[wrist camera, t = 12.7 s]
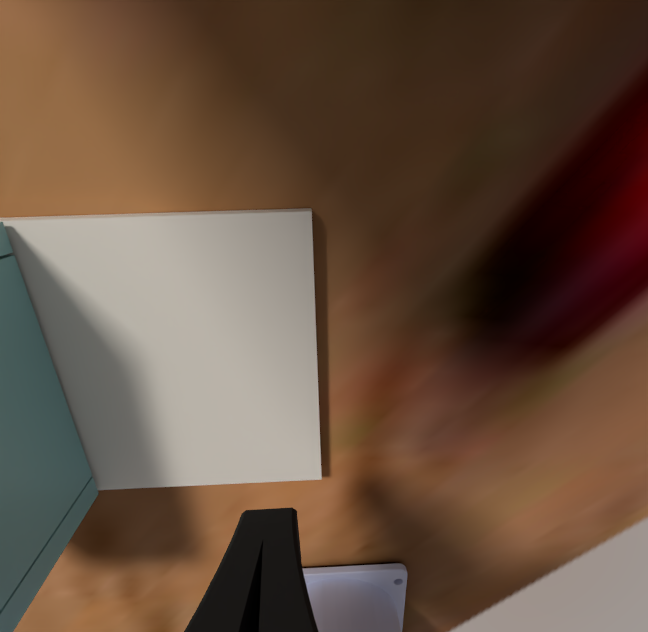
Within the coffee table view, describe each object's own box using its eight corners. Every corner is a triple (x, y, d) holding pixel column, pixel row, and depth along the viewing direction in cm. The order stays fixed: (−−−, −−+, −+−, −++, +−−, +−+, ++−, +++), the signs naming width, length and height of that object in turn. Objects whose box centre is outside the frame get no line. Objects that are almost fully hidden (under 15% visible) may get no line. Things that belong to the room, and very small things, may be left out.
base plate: (321, 466, 18) (324, 545, 14) (-64, 484, 18) (-162, 570, 14) (311, 208, 13) (312, 228, 10) (-213, 224, 13) (-419, 251, 9)
